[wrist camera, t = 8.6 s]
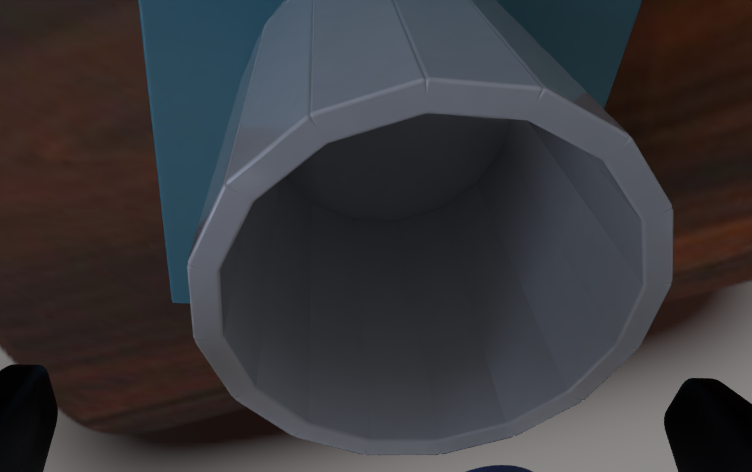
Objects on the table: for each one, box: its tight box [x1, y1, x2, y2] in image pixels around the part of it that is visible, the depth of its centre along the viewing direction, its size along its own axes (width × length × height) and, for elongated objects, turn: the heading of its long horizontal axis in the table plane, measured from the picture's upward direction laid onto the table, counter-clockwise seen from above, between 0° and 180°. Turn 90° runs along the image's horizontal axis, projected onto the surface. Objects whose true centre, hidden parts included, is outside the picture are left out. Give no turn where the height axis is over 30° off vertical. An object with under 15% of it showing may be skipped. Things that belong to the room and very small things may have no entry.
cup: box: [187, 0, 673, 455], centre depth 11 cm, size 6×6×7 cm
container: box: [138, 0, 642, 303], centre depth 16 cm, size 14×11×5 cm
